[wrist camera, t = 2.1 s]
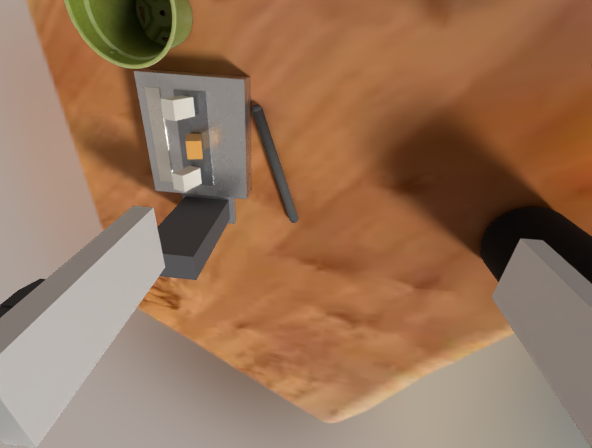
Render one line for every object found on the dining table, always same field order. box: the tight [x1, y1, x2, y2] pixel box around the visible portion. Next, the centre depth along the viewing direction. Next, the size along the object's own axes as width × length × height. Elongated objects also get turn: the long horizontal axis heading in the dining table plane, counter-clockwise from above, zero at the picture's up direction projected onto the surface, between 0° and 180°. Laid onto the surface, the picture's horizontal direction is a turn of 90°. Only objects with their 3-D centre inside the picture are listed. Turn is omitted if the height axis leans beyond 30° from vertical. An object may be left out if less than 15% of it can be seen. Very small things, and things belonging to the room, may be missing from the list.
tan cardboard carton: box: [186, 134, 203, 159], centre depth 35 cm, size 2×2×3 cm
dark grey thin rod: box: [252, 105, 298, 223], centre depth 40 cm, size 16×1×1 cm, turn 16°
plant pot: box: [64, 0, 193, 69], centre depth 29 cm, size 9×9×9 cm
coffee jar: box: [481, 207, 592, 284], centre depth 35 cm, size 11×11×18 cm
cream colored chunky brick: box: [160, 95, 195, 121], centre depth 33 cm, size 2×2×3 cm
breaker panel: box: [134, 69, 252, 199], centre depth 38 cm, size 14×12×3 cm
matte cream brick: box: [172, 166, 202, 192], centre depth 37 cm, size 2×2×3 cm
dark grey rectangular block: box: [157, 193, 236, 280], centre depth 38 cm, size 4×7×14 cm, turn 86°
